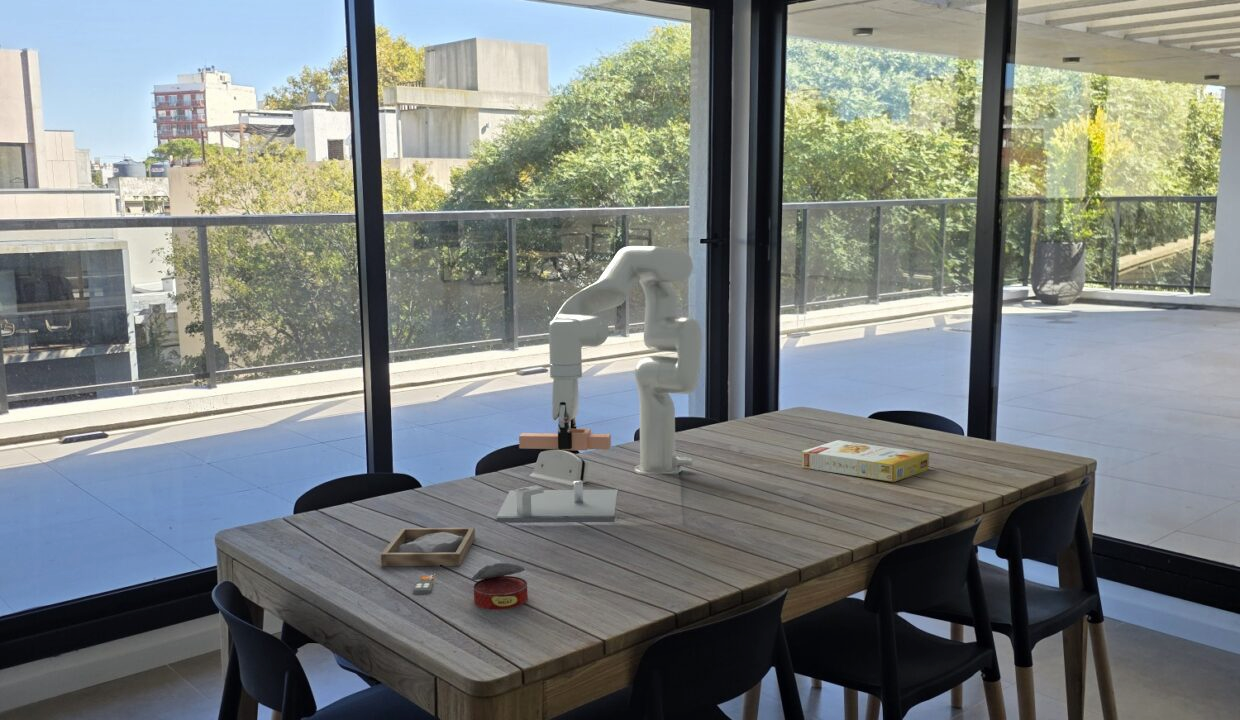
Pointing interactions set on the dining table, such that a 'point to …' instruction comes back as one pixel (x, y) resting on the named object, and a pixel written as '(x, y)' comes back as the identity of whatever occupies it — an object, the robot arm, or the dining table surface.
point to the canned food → (499, 587)
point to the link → (580, 440)
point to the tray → (424, 559)
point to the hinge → (560, 467)
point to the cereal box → (865, 460)
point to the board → (562, 506)
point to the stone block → (433, 543)
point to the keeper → (526, 498)
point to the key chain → (423, 585)
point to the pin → (578, 491)
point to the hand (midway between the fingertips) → (567, 445)
